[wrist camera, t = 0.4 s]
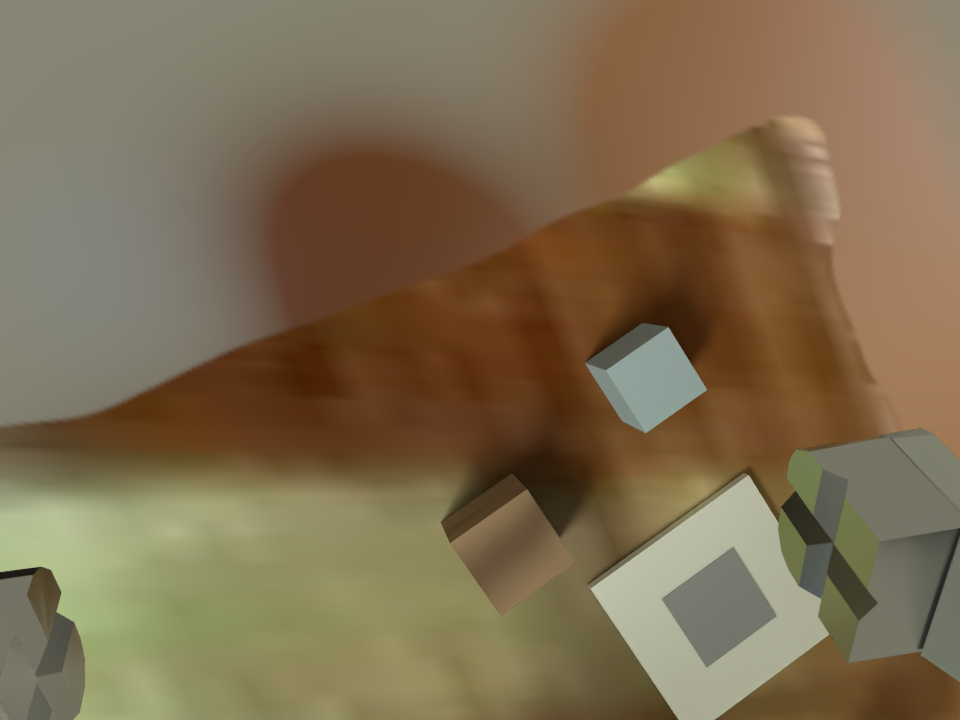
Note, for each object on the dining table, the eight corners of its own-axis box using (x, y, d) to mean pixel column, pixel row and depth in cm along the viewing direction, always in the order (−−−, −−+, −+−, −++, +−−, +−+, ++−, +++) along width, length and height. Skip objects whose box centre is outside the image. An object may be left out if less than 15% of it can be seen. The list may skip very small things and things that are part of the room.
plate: (835, 621, 69) (842, 625, 68) (686, 732, 67) (691, 738, 67) (743, 472, 66) (749, 475, 65) (587, 584, 65) (591, 589, 64)
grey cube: (678, 380, 65) (707, 389, 60) (621, 420, 64) (645, 433, 60) (642, 322, 64) (668, 327, 59) (584, 362, 64) (605, 370, 59)
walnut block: (557, 540, 65) (575, 562, 60) (487, 589, 64) (500, 615, 59) (511, 472, 64) (527, 489, 59) (440, 522, 63) (450, 543, 58)
